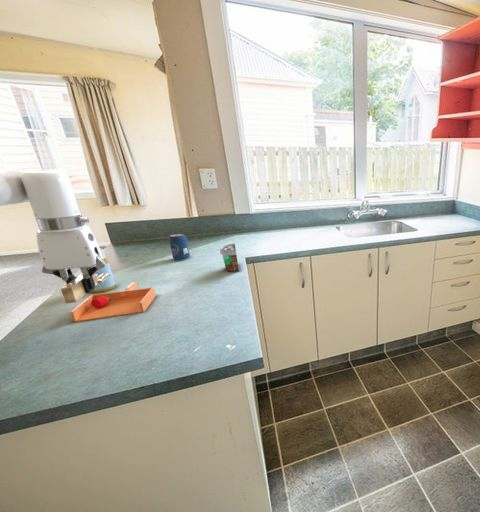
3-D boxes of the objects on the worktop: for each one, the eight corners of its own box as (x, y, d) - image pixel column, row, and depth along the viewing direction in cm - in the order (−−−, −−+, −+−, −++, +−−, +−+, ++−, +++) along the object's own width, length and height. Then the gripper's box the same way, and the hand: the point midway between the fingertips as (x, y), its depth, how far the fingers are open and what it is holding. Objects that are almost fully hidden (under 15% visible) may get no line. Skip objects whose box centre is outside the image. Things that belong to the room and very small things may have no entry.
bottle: (116, 284, 114) (104, 246, 109) (115, 290, 109) (104, 251, 104) (91, 288, 110) (78, 250, 105) (89, 295, 105) (76, 255, 100)
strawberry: (102, 304, 94) (113, 299, 97) (93, 297, 93) (105, 292, 97) (98, 310, 95) (109, 305, 98) (89, 303, 94) (101, 299, 98)
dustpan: (144, 312, 94) (141, 302, 93) (74, 322, 87) (70, 312, 86) (163, 285, 113) (161, 277, 112) (107, 292, 107) (105, 283, 106)
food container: (223, 265, 135) (219, 244, 131) (237, 263, 137) (234, 243, 134) (223, 274, 124) (219, 252, 121) (239, 272, 127) (235, 250, 124)
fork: (61, 304, 72) (55, 289, 71) (96, 276, 88) (91, 264, 86) (80, 301, 73) (75, 287, 72) (111, 275, 89) (107, 262, 88)
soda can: (169, 260, 141) (164, 235, 138) (183, 256, 148) (178, 232, 144) (180, 261, 139) (175, 237, 136) (193, 257, 146) (189, 233, 142)
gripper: (108, 218, 79) (126, 282, 84) (26, 222, 73) (51, 291, 78) (95, 224, 72) (115, 293, 78) (4, 229, 66) (33, 303, 72)
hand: (83, 291), depth 78 cm, fingers closed on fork, 2 cm apart
